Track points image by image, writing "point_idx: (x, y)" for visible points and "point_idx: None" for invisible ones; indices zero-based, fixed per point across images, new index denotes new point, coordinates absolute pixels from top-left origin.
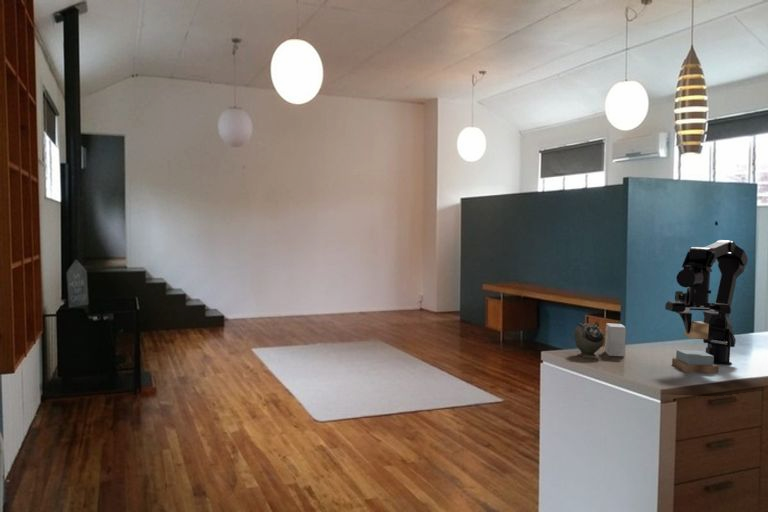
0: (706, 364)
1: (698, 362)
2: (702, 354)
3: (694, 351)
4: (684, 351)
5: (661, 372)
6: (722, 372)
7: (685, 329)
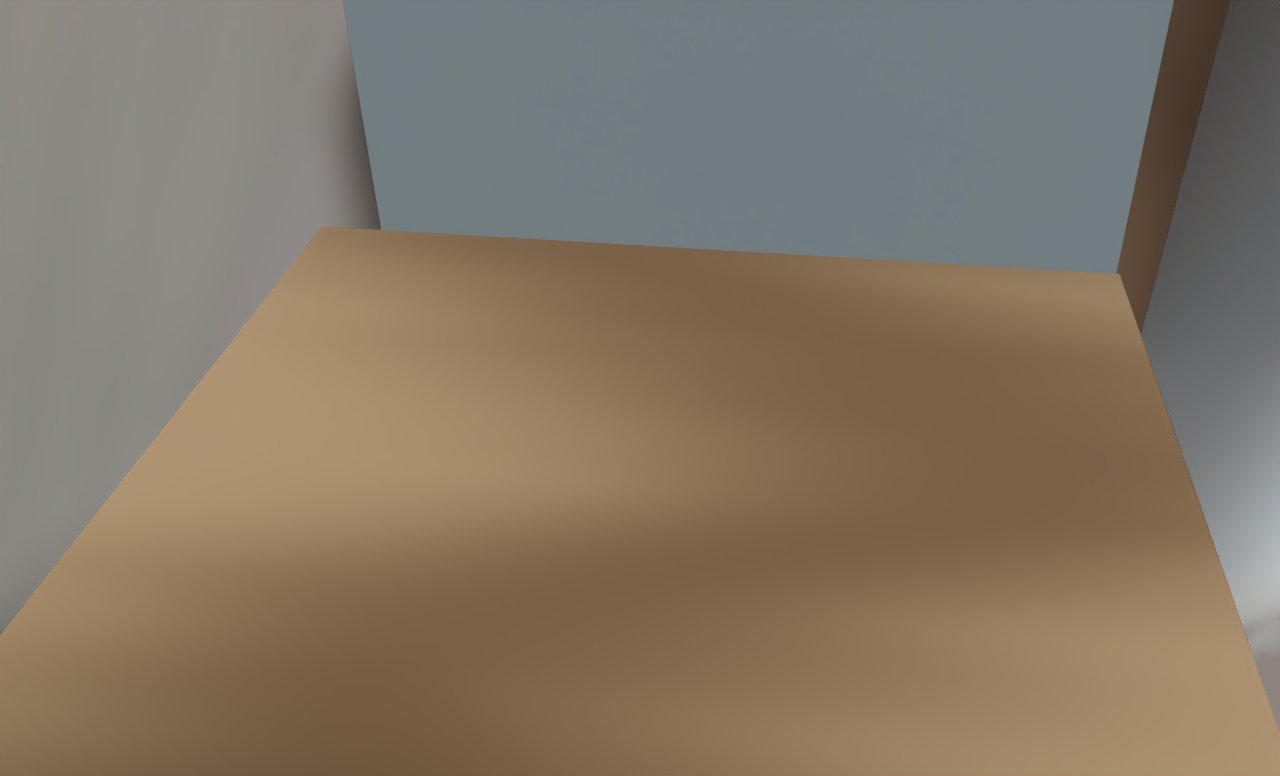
0: None
1: None
2: None
3: (850, 30)
4: (498, 74)
5: (44, 370)
6: (1270, 279)
7: (180, 467)
